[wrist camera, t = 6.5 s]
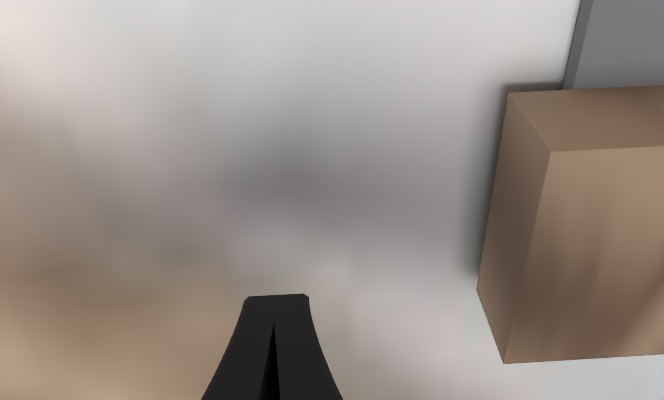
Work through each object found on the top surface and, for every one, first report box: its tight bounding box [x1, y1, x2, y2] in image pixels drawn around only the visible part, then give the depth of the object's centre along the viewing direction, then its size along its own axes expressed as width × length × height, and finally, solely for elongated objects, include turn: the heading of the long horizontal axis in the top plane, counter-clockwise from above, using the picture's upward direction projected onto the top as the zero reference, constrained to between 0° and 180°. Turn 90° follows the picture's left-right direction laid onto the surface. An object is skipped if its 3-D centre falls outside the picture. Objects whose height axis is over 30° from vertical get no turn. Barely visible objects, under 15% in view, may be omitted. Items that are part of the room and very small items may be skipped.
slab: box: [476, 85, 664, 364], centre depth 16 cm, size 7×3×8 cm
